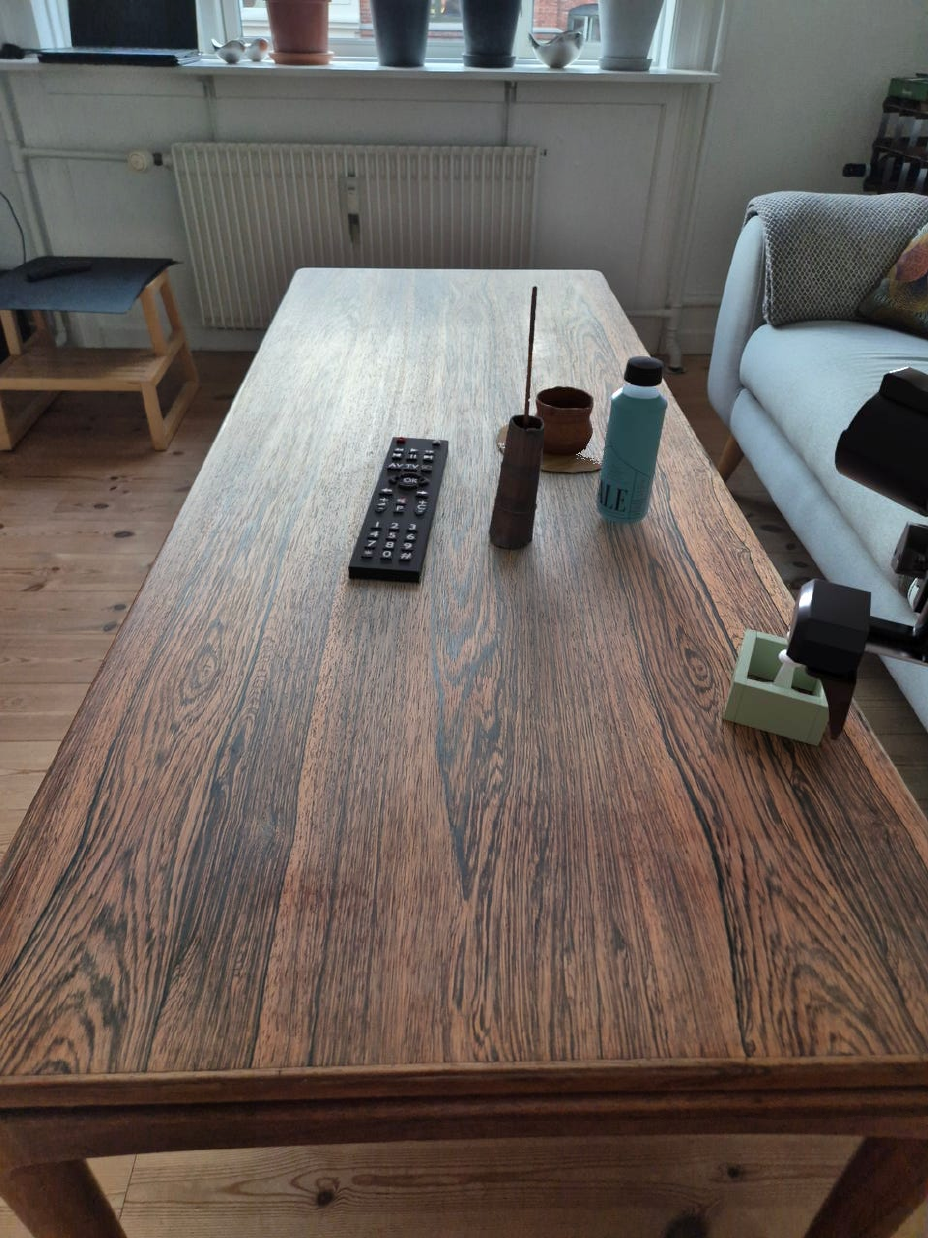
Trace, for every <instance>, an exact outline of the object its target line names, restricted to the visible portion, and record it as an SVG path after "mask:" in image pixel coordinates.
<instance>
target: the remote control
mask: <svg viewBox="0 0 928 1238" xmlns="http://www.w3.org/2000/svg"><path fill="white" fill-rule="evenodd" d="M447 454H448V455H449V440H446V439H429V438H416V437H404V436H392V439H391V442H390V444H389V447H388V450H387V453H386V456H385V458H384V462H383V464H382V467H381V471H380V472H379V476H378V479H377V482H376V485H375V488H374V490H373V493H372V497H371V500H370V502H369V505H368V507H367V511H366V513H365V517H364V519H363V522H362V525H361V528H360V530H359V534H358V537H357V540H356V543H355V544H354V548H353V552H352V554H351V557H350V560H349V563H348V566H347V571H348V579H350V580H351V579H352V580H363V581H366V580H367V581H380V582H393V583H408V584H420V583H421V582H420V581H421V578H422V574H423V568H424V563H425V559H426V555H427V551H428V547H429V541H430V537H431V532H432V528H433V524H434V519H435V518H434V517H435V514H436V509H437V506H438V500H439V497H440V491H441V486H442V481H443V478H444V472H445V469H446V464H447V460H448V455H447ZM446 459H447V460H446ZM442 477H443V478H442Z"/></svg>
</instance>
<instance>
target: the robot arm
mask: <svg viewBox="0 0 928 1238" xmlns="http://www.w3.org/2000/svg"><path fill="white" fill-rule="evenodd" d="M879 385H880V386H879V387H878V391H877V392H876V393H874V394H873V395H872V396H871V397H870V398H869V399H868V400H866V401H865V402H864V403H863V405H862V406H860V409H859V410H857V412H856V413H855V415H854V416H853V417H852V420H851V421H850V422H849V424H848V426H847V428H845V429H843V430H842V432H841V433H840V435H839V437H838V440H837V443H836V447H835V451H834V466H835V469H836V471H837V472H838V474H840V475H842V476H844V477H845V478H847V479H849V480H851V481H853V482H856V483H857V484H860V485H861V486H863V487H865V488H867V489H868V490H871V491H873V492H875V493H876V494H879V495H881V496H882V497H885V498H887V499H888V500H890V501H892V502H894V503H896V504H898V505H900V506H902V507H904V508H906V509H908V510H911V511H912V512H913V513H916V514H918V515H920V516H922V517H924V518H928V373H925V372H924V371H921V370H918V369H916V368H913V367H910V366H907V367H903V368H899V369H896V370H893V371H889V372H887V373H884V374H883V377H882V379H881V381H880V384H879ZM890 566H891V568H892V570H893V572H894V573H895V575H901V576H903V577H909V578H912V579H917V580H916V584H915V587H916V588H917V591H916V594H915V595H914V598H913V601H912V612H913V613H916V614H919V616H918V618H917V621H916V623H915V625H911V624H906V623H902V622H899V621H898V622H897V621H893V620H890V619H885V618H881V617H877V616H874V615H871V605H872V591H869V590H864V589H859V588H856V587H852V586H847V585H843V584H839V583H835V582H830V581H826V580H822V579H818V578H813V579H811V580H810V581H808V582H805V583H804V584H802V585H801V587H800V589H799V591H798V594H797V598H796V600H795V602H794V605H793V609H792V616H791V620H790V626H789V631H790V632H789V631H788V632H789V638H788V644H787V649H786V655H787V656H788V657H789V658H790V659H791V660H792V661H793V662H794V663H798V664H802V665H805V667H804V670H805V672H806V674H807V675H809V676H811V677H813V678H817V679H819V680H820V681H821V684H822V687H823V690H824V693H825V697H826V700H827V704H828V711H829V720H828V725H829V727H828V729H829V739H830V741H834V742H836V741H838V739H839V738H840V737H841V734H842V733H843V731H844V728H845V725H846V723H847V722H846V721H847V718H848V715H849V711H850V707H851V704H852V701H853V697H854V694H855V690H856V687H857V683H858V670H859V669H858V668H859V666H860V663H861V661H862V659H863V656H864V653H865V652H868V653H871V654H874V655H875V654H876V655H880V656H883V657H887V658H890V659H895V660H899V661H903V662H906V663H910V664H915V665H918V666H921V667H926V668H928V525H927V524H923V523H917V522H913V521H909V520H908V521H906V523H905V525H904V527H903V530H902V531H901V535H900V537H899V538H898V541H897V544H896V546H895V549H894V553H893V555H892V559H891V563H890Z"/></svg>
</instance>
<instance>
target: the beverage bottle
mask: <svg viewBox="0 0 928 1238" xmlns="http://www.w3.org/2000/svg"><path fill="white" fill-rule="evenodd" d="M663 374H664V363H663V361H662V360H660V359H658V358H656V357H652V356H648V355H647V356H646V355H636V356H631V357H630V358H628V359H627V361H626V365H625V370H624V373H623V380H624V381H625V382H626V383H628V384H625V385H624V386H622V387H621V388H619V389H617V391H615V392H614V393H613V394H612V395H611V397H610V406H609V407H610V408H609V414H608V422H606V426H605V429H606V430H607V431H606V430H605V431H606V432H607V433H606V438H605V437H604V440H605V439H606V440H605V447H604V449H603V450H604V455H603V460H602V461H603V462H602V461H601V462H602V463H601V465H602V466H601V467H602V468H601V469H600V472H599V474H598V478H599V479H598V482H597V485H598V487H597V488H596V493H597V494H596V496H595V497H596V500H595V503H596V504H595V506H596V509H597V513H598V514H599V515H600V516H601V517H603V518H604V519H606V520H608V521H610V522H613V523H619V524H634V523H638V522H641V521H643V520H644V519H645V518H646V517H647V515H648V512H649V509H650V507H651V506H650V504H651V502H652V496H653V489H654V486H655V485H654V482H655V480H656V479H655V476H656V474H657V462H658V454H659V450H660V445H661V440H662V439H661V438H662V433H663V428H664V422H665V417H666V412H667V409H668V405H669V404H668V400H667V398H666V397H665V395H663V393H662V392H661V391H660V390H659V389H658V388H656V387H657V386H660V385H661V384H662V382H663V378H664V375H663Z"/></svg>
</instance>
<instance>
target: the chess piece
mask: <svg viewBox="0 0 928 1238" xmlns="http://www.w3.org/2000/svg"><path fill="white" fill-rule="evenodd" d="M789 632H790V630H789V631H787V633H786V639H787V644H788V638H789ZM779 659H780V660H781V662H783V665H782V667H781V669H780V671H779V673H778V675H777V677H776V679H775V680H774V681H762V682H763V683H766V684H770V685H774V686H777V687H781V688H785V689H788V690H792V691H796V690H795V689H793V688H792V686H791V685H792V679H793V674H794V669H795V667H799V666H802V664H798V663H794V662H793V661H792V660H791V659H790V658H789V657H788V656H787V655H786V650H783V651H782V652H781V653H780V654H779Z"/></svg>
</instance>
